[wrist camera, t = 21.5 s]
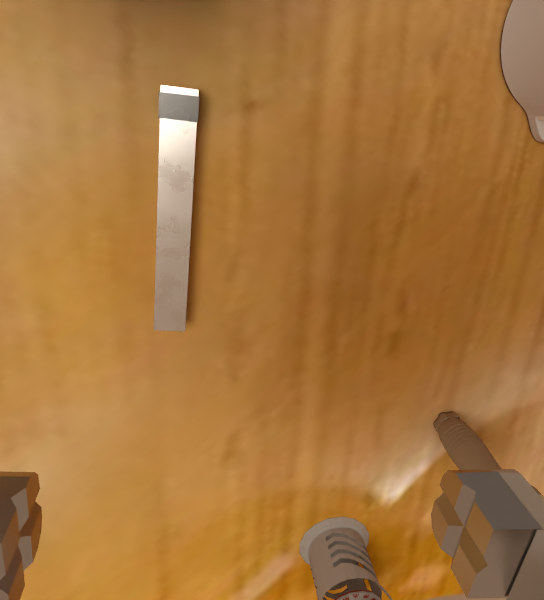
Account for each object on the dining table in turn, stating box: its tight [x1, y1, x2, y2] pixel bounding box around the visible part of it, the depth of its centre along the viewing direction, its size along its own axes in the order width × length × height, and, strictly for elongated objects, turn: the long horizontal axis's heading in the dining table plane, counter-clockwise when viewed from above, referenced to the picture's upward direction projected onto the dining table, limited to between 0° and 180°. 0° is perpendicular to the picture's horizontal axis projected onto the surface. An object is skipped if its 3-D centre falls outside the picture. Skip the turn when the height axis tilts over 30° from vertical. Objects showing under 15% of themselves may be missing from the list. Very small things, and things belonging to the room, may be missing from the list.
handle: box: [434, 412, 544, 501], centre depth 54 cm, size 5×6×15 cm
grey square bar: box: [154, 85, 199, 331], centre depth 45 cm, size 3×22×3 cm, turn 173°
